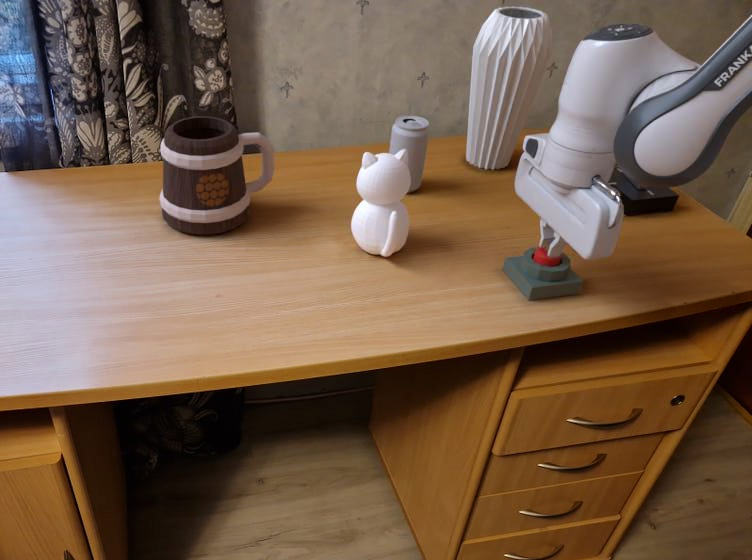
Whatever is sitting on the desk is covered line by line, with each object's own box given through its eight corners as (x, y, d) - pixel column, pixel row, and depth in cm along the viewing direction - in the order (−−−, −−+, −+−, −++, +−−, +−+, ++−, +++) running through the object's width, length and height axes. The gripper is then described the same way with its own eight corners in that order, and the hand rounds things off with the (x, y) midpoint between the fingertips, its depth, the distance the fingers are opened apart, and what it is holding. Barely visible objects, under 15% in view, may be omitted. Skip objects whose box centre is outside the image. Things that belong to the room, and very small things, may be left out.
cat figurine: (392, 224, 112) (405, 136, 103) (421, 265, 103) (437, 172, 93) (340, 230, 111) (348, 141, 101) (364, 271, 102) (375, 178, 92)
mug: (176, 245, 107) (167, 154, 97) (150, 203, 117) (140, 117, 107) (291, 222, 113) (294, 134, 103) (257, 183, 123) (257, 100, 113)
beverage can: (407, 175, 126) (416, 111, 118) (427, 190, 122) (438, 124, 114) (378, 182, 124) (385, 117, 116) (397, 197, 120) (407, 131, 112)
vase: (437, 158, 132) (463, 10, 115) (481, 141, 138) (512, -2, 121) (493, 182, 124) (529, 28, 107) (536, 163, 130) (578, 14, 113)
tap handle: (647, 189, 116) (656, 166, 113) (637, 189, 116) (647, 166, 113) (631, 173, 121) (640, 151, 118) (622, 174, 121) (631, 151, 118)
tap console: (675, 210, 117) (683, 194, 115) (623, 216, 115) (629, 199, 113) (633, 180, 126) (639, 163, 123) (584, 184, 124) (589, 168, 122)
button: (563, 268, 97) (566, 257, 96) (540, 271, 96) (543, 260, 95) (550, 255, 99) (553, 244, 98) (528, 257, 99) (531, 247, 98)
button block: (578, 293, 98) (587, 270, 95) (528, 300, 96) (535, 276, 94) (550, 264, 104) (557, 241, 101) (502, 270, 102) (508, 247, 100)
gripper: (649, 195, 80) (610, 291, 90) (559, 128, 96) (533, 216, 105) (602, 200, 79) (567, 296, 88) (518, 132, 95) (496, 220, 104)
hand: (548, 252), depth 97 cm, fingers closed, pressing on button
